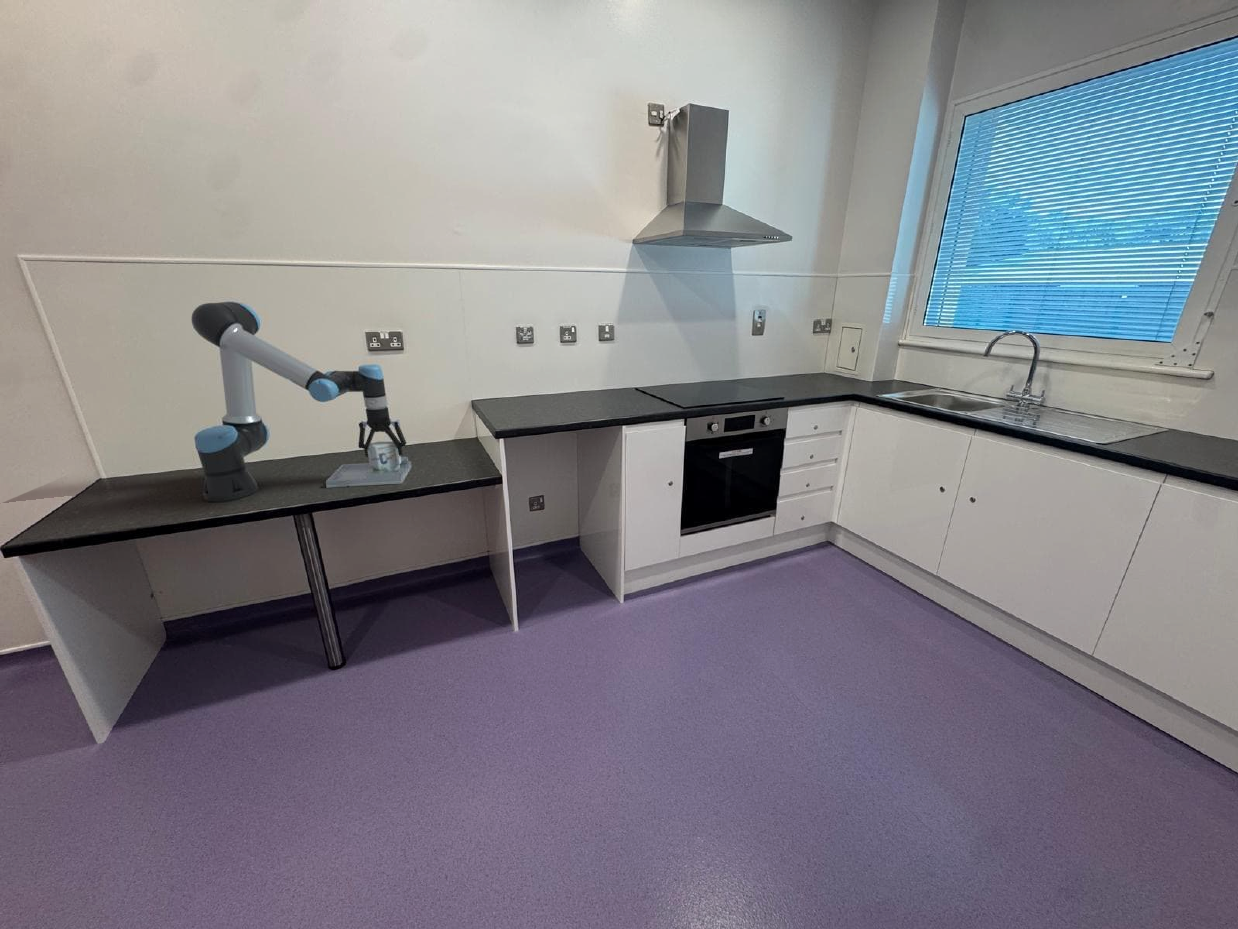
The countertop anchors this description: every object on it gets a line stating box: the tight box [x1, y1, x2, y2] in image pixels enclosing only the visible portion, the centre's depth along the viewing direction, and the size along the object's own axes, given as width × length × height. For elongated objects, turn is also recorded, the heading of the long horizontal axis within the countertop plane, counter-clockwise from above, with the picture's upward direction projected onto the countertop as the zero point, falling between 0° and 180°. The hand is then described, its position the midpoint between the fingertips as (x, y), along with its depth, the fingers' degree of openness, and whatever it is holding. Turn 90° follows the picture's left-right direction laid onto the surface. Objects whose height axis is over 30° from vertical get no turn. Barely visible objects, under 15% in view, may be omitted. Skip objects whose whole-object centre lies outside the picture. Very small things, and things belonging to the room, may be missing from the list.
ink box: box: [369, 438, 400, 471], centre depth 189 cm, size 9×5×12 cm, turn 143°
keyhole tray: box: [325, 456, 413, 489], centre depth 190 cm, size 26×18×4 cm
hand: (385, 463), depth 190 cm, fingers closed on ink box, 9 cm apart
